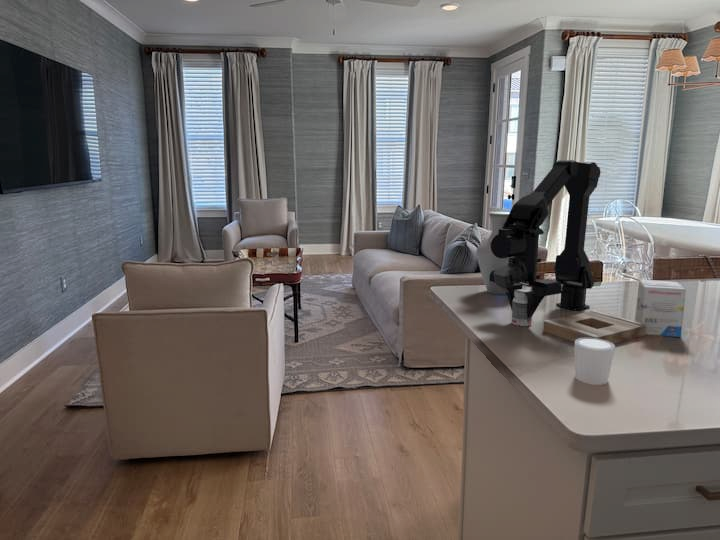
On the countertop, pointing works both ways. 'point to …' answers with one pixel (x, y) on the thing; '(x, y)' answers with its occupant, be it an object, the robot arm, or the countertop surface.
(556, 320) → the walnut jig
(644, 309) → the ink box
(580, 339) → the white short tapered cylinder
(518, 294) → the pill bottle
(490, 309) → the countertop surface
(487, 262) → the vase
